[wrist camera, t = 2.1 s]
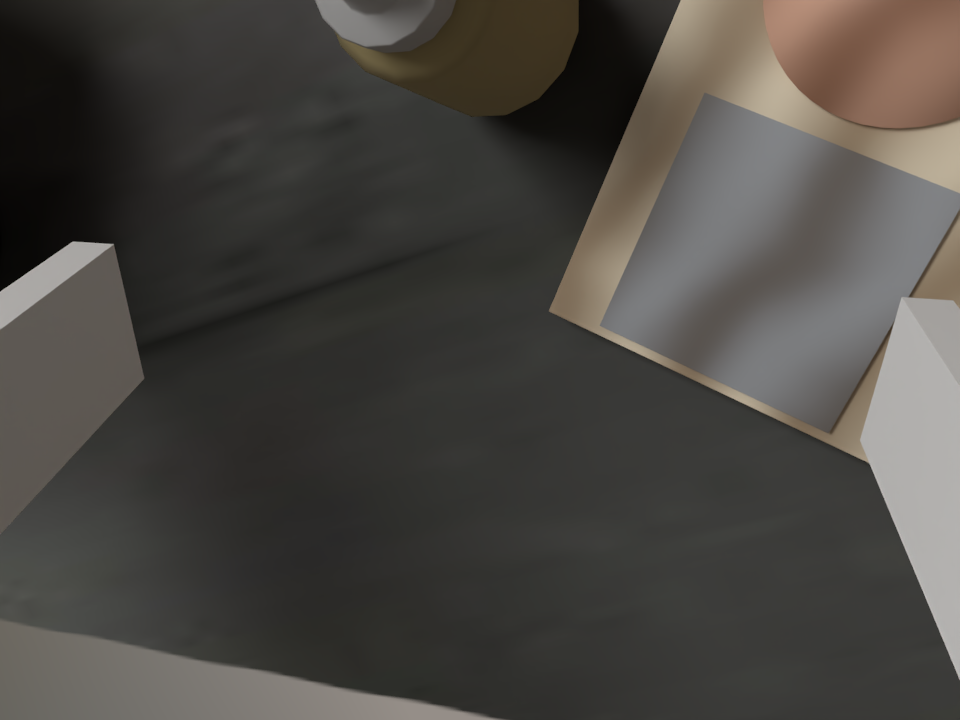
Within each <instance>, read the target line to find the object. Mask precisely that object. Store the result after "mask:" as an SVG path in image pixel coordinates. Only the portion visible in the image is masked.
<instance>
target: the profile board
mask: <svg viewBox="0 0 960 720" xmlns="http://www.w3.org/2000/svg"><path fill="white" fill-rule="evenodd" d="M902 297H909V298H923V299H938V300H953V301H954V302H955V303H956V305H957V306H958V307H959V309H960V0H681V1H680V4H679V6H678V8H677V11H676V13H675V15H674V18H673V20H672V23H671V25H670V27H669V30H668V32H667V34H666V37H665V39H664V41H663V44H662V46H661V48H660V51H659V53H658V55H657V58H656V60H655V63H654V65H653V67H652V70H651V72H650V74H649V77H648V79H647V81H646V84H645V86H644V88H643V91H642V93H641V95H640V98H639V100H638V103H637V105H636V107H635V110H634V112H633V114H632V117H631V119H630V121H629V124H628V126H627V128H626V131H625V133H624V136H623V138H622V140H621V143H620V145H619V147H618V150H617V152H616V154H615V157H614V159H613V161H612V164H611V166H610V168H609V171H608V173H607V176H606V178H605V180H604V183H603V185H602V187H601V190H600V192H599V194H598V197H597V199H596V201H595V204H594V206H593V208H592V211H591V213H590V216H589V218H588V220H587V223H586V225H585V227H584V230H583V232H582V234H581V237H580V239H579V241H578V244H577V246H576V248H575V251H574V253H573V256H572V258H571V260H570V263H569V265H568V267H567V270H566V272H565V274H564V277H563V279H562V281H561V284H560V286H559V288H558V291H557V293H556V296H555V298H554V300H553V303H552V305H551V307H550V310H549V312H551V313H554V314H556V315H558V316H560V317H562V318H564V319H566V320H568V321H570V322H572V323H575V324H577V325H579V326H581V327H583V328H585V329H587V330H589V331H591V332H594V333H596V334H598V335H600V336H602V337H604V338H606V339H608V340H610V341H613V342H615V343H617V344H619V345H621V346H623V347H625V348H627V349H629V350H632V351H634V352H636V353H638V354H640V355H642V356H644V357H646V358H648V359H651V360H653V361H655V362H657V363H659V364H661V365H663V366H665V367H667V368H670V369H672V370H674V371H676V372H678V373H680V374H682V375H684V376H686V377H689V378H691V379H693V380H695V381H697V382H699V383H701V384H703V385H705V386H708V387H710V388H712V389H714V390H716V391H718V392H720V393H722V394H724V395H727V396H729V397H731V398H733V399H735V400H737V401H739V402H741V403H743V404H746V405H748V406H750V407H752V408H754V409H756V410H758V411H760V412H762V413H765V414H767V415H769V416H771V417H773V418H775V419H777V420H779V421H781V422H783V423H786V424H788V425H790V426H792V427H794V428H796V429H798V430H800V431H802V432H805V433H807V434H809V435H811V436H813V437H815V438H817V439H819V440H821V441H824V442H826V443H828V444H830V445H832V446H834V447H836V448H838V449H840V450H843V451H845V452H847V453H849V454H851V455H853V456H855V457H857V458H859V459H862V460H864V461H866V462H868V463H869V461H868V459H867V456H866V454H865V451H864V449H863V447H862V444H861V442H860V438H861V435H862V431H863V428H864V424H865V421H866V418H867V414H868V411H869V407H870V404H871V400H872V397H873V394H874V390H875V387H876V383H877V380H878V376H879V373H880V370H881V366H882V363H883V359H884V356H885V352H886V349H887V346H888V342H889V339H890V335H891V332H892V328H893V325H894V322H895V318H896V315H897V311H898V308H899V304H900V301H901V298H902Z"/></svg>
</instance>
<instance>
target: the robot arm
mask: <svg viewBox="0 0 960 720" xmlns="http://www.w3.org/2000/svg"><path fill="white" fill-rule="evenodd" d="M143 379H144V375H143V371H142V366H141V362H140V357H139V353H138V349H137V344H136V340H135V335H134V331H133V327H132V322H131V318H130V313H129V309H128V305H127V300H126V296H125V291H124V287H123V283H122V278H121V274H120V269H119V265H118V261H117V256H116V252H115V247H114V244H102V243H88V242H71V243H70V244H69V245H67V246H66V247H64V248H63V249H61V250H60V251H58V252H57V253H56V254H54V255H53V256H51V257H50V258H48V259H47V260H45V261H44V262H42V263H41V264H40V265H38V266H37V267H35V268H34V269H32V270H31V271H29V272H28V273H27V274H25V275H24V276H22V277H21V278H19V279H18V280H16V281H15V282H14V283H12V284H11V285H9V286H8V287H6V288H5V289H3V290H2V291H1V292H0V534H1V533H2V532H3V531H4V530H5V529H6V528H7V527H8V526H9V524H10V523H11V522H12V521H13V520H14V519H15V518H16V517H17V516H18V515H19V514H20V513H21V511H22V510H23V509H24V508H25V507H26V506H27V505H28V504H29V503H30V502H31V501H32V500H33V498H34V497H35V496H36V495H37V494H38V493H39V492H40V491H41V490H42V489H43V488H44V487H45V485H46V484H47V483H48V482H49V481H50V480H51V479H52V478H53V477H54V476H55V475H56V474H57V472H58V471H59V470H60V469H61V468H62V467H63V466H64V465H65V464H66V463H67V462H68V461H69V459H70V458H71V457H72V456H73V455H74V454H75V453H76V452H77V451H78V450H79V449H80V448H81V446H82V445H83V444H84V443H85V442H86V441H87V440H88V439H89V438H90V437H91V436H92V435H93V433H94V432H95V431H96V430H97V429H98V428H99V427H100V426H101V425H102V424H103V423H104V422H105V420H106V419H107V418H108V417H109V416H110V415H111V414H112V413H113V412H114V411H115V410H116V409H117V408H118V406H119V405H120V404H121V403H122V402H123V401H124V400H125V399H126V398H127V397H128V396H129V395H130V393H131V392H132V391H133V390H134V389H135V388H136V387H137V386H138V385H139V384H140V383H141V382H142V380H143ZM860 442H861V444H862V447H863V449H864V451H865V454H866V456H867V459H868V461H869V463H870V466H871V468H872V471H873V473H874V475H875V478H876V480H877V483H878V485H879V487H880V490H881V492H882V495H883V497H884V499H885V502H886V504H887V507H888V509H889V511H890V514H891V516H892V519H893V521H894V523H895V526H896V528H897V531H898V533H899V535H900V538H901V540H902V543H903V545H904V547H905V550H906V552H907V554H908V557H909V559H910V562H911V564H912V566H913V569H914V571H915V574H916V576H917V578H918V581H919V583H920V586H921V588H922V590H923V593H924V595H925V598H926V600H927V602H928V605H929V607H930V610H931V612H932V614H933V617H934V619H935V622H936V624H937V626H938V629H939V631H940V634H941V636H942V638H943V641H944V643H945V646H946V648H947V650H948V653H949V655H950V658H951V660H952V662H953V665H954V667H955V670H956V672H957V674H958V677H959V679H960V309H959V307H958V306H957V305H956V303H955V302H954V301H953V300H938V299H923V298H909V297H902V298H901V301H900V304H899V308H898V311H897V315H896V318H895V322H894V325H893V328H892V332H891V335H890V339H889V342H888V346H887V349H886V352H885V356H884V359H883V363H882V366H881V370H880V373H879V376H878V380H877V383H876V387H875V390H874V394H873V397H872V400H871V404H870V407H869V411H868V414H867V418H866V421H865V424H864V428H863V431H862V435H861V438H860Z"/></svg>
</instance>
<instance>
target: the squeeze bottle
mask: <svg viewBox="0 0 960 720" xmlns="http://www.w3.org/2000/svg"><path fill="white" fill-rule="evenodd" d="M315 2H316V4H317V6H318V9H319V11H320V14H321V16H322V18H323V19H324V21H325V22H326V23H327V24H328V25H329V26H330V27H331V28H332V29H333V30H334V31H335V33H336V36H337V38H338V40H339V43H340V45H341V47H342V48H343V49H344V50H345V51H346V52H347V53H348V54H349V55H350V56H351V57H352V58H353V59H354V60H355V61H356V62H357V63H358V64H359V66H360V67H361V68H362V69H363V70H364V71H365V72H368V73H370V74H372V75H375V76H377V77H379V78H382V79H384V80H386V81H389V82H391V83H393V84H396V85H398V86H400V87H403V88H405V89H407V90H410V91H412V92H414V93H417V94H419V95H421V96H424V97H426V98H428V99H431V100H433V101H435V102H438V103H440V104H442V105H445V106H447V107H450V108H452V109H454V110H457V111H459V112H462V113H464V114H467V115H469V116H471V117H474V116H498V115H507V114H509V113H511V112H513V111H515V110H517V109H519V108H521V107H523V106H525V105H527V104H529V103H531V102H533V101H535V100H537V99H539V98H540V97H541V96H542V94H543V93H544V92H545V91H546V90H547V89H548V88H549V86H550V85H551V84H552V83H553V82H554V81H555V80H556V79H557V77H558V76H559V75H560V74H561V73H562V72H563V71H564V69H565V66H566V64H567V61H568V58H569V56H570V53H571V50H572V48H573V45H574V42H575V40H576V37H577V34H578V31H579V0H315Z"/></svg>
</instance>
